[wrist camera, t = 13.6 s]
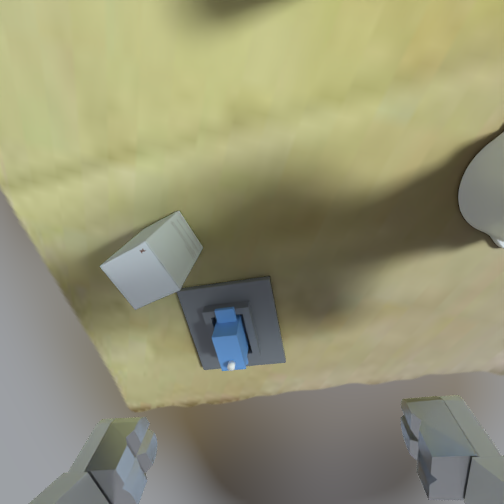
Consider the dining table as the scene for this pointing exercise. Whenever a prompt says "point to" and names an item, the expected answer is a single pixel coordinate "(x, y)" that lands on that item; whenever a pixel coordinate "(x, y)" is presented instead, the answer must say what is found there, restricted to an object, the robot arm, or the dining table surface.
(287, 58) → the dining table surface
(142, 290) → the supplement box
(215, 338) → the servo block
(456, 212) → the dining table surface
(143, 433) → the robot arm
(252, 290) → the plate
